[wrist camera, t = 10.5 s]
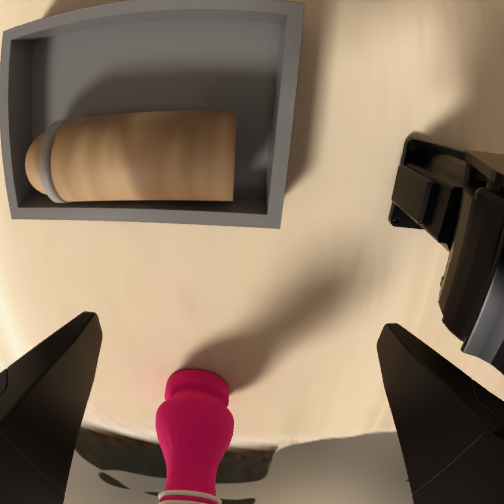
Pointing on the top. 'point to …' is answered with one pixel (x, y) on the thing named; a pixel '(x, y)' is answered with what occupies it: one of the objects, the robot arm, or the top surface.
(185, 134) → the shaker
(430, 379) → the robot arm
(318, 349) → the top surface
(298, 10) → the dish
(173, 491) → the pepper mill
